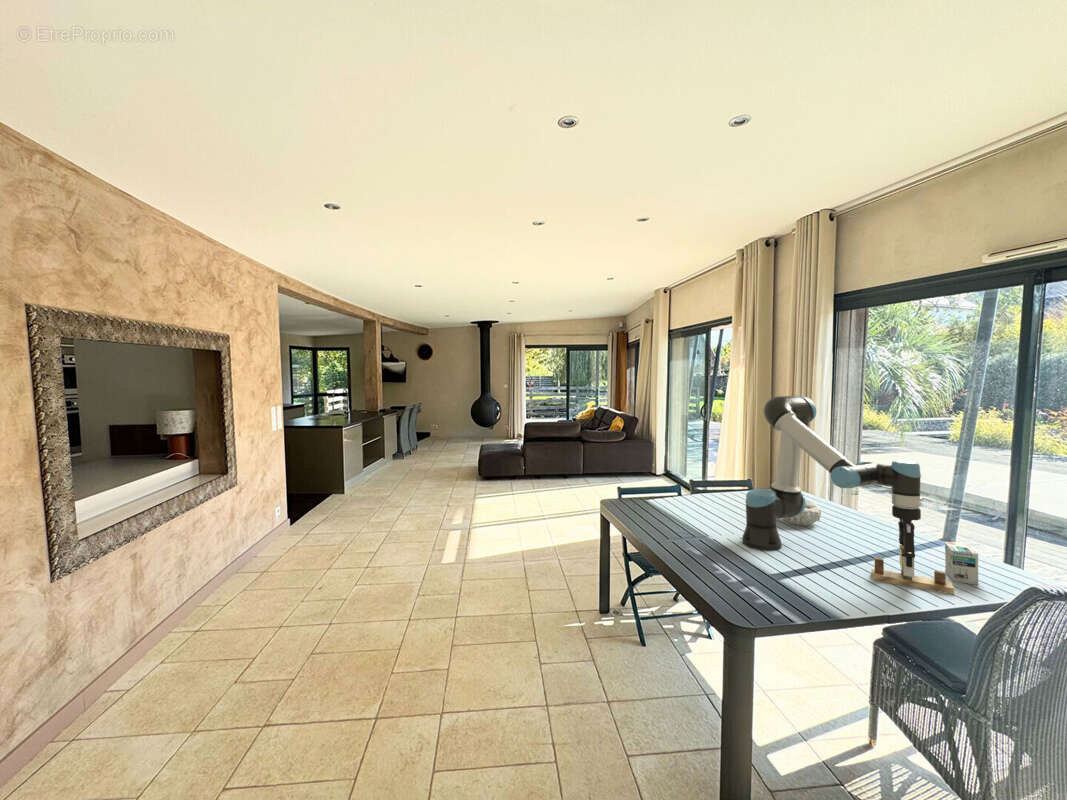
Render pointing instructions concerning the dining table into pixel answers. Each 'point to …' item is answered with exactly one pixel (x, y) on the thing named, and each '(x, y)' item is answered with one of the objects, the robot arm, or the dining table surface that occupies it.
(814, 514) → the bowl
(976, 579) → the light bulb box
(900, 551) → the lever cap
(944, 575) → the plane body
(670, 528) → the dining table surface
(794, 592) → the dining table surface
